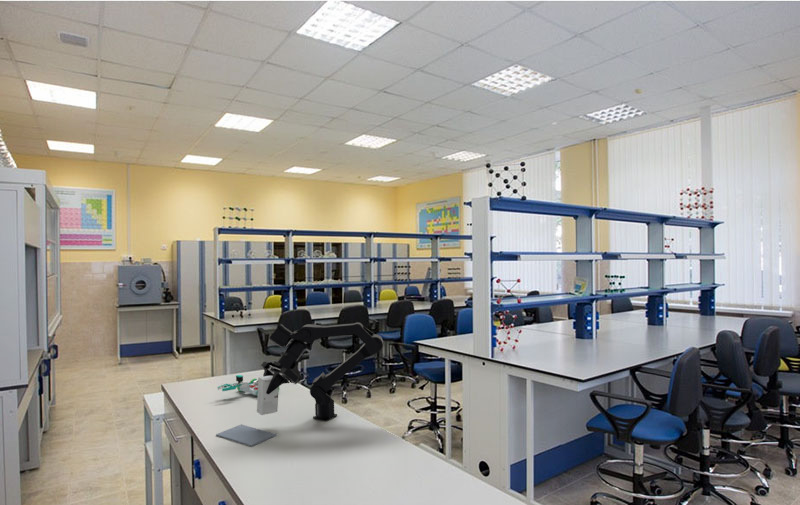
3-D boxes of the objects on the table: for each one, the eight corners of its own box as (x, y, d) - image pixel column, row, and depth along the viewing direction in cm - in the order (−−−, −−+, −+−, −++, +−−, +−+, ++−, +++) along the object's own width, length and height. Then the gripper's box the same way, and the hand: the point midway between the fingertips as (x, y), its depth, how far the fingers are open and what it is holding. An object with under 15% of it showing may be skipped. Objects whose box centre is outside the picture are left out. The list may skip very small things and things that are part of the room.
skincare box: (261, 415, 151) (263, 380, 151) (256, 412, 155) (257, 377, 155) (278, 411, 155) (279, 377, 155) (272, 408, 159) (273, 374, 159)
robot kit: (210, 399, 190) (210, 377, 190) (262, 385, 209) (261, 365, 209) (233, 407, 178) (232, 384, 178) (285, 391, 197) (285, 370, 197)
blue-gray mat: (276, 435, 147) (276, 433, 147) (251, 446, 139) (251, 445, 139) (241, 425, 157) (241, 424, 157) (216, 435, 149) (216, 434, 149)
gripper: (319, 371, 158) (292, 410, 151) (293, 363, 172) (268, 399, 165) (299, 353, 153) (270, 393, 146) (274, 346, 167) (246, 382, 160)
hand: (264, 392), depth 154 cm, fingers closed on skincare box, 4 cm apart
